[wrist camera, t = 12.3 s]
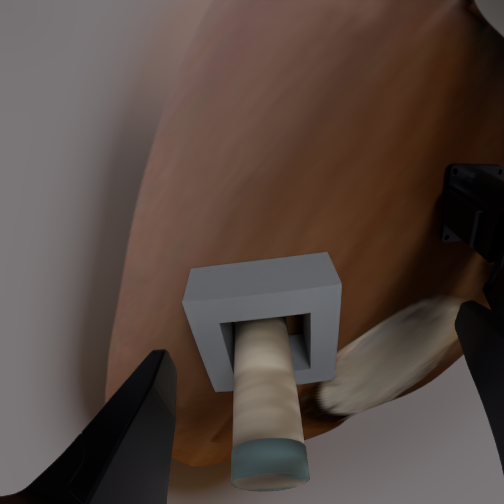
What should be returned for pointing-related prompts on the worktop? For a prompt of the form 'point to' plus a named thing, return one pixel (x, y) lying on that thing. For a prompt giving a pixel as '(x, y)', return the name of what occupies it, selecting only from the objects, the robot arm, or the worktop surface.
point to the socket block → (266, 311)
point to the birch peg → (266, 410)
